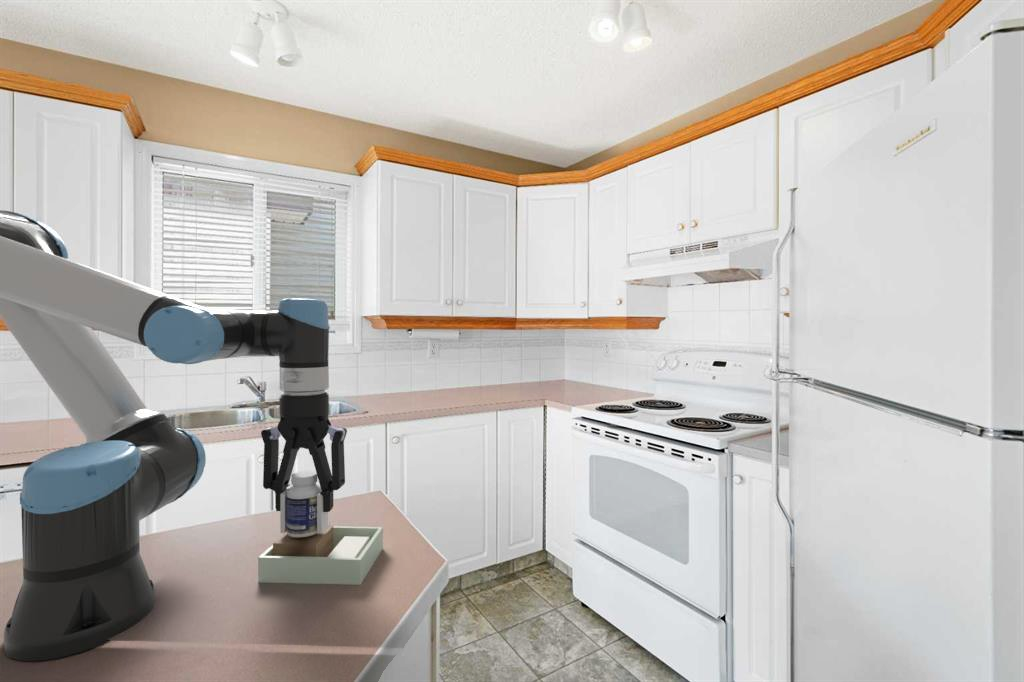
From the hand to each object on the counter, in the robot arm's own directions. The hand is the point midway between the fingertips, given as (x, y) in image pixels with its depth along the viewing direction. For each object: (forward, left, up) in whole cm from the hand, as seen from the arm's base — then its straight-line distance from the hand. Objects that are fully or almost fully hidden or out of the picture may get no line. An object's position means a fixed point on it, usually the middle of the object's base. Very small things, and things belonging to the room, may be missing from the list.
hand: (304, 529), depth 80 cm
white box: (+7, 0, -6) cm, 9 cm away
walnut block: (0, 0, -6) cm, 6 cm away
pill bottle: (0, 0, 0) cm, 1 cm away
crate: (+3, 0, -6) cm, 7 cm away
